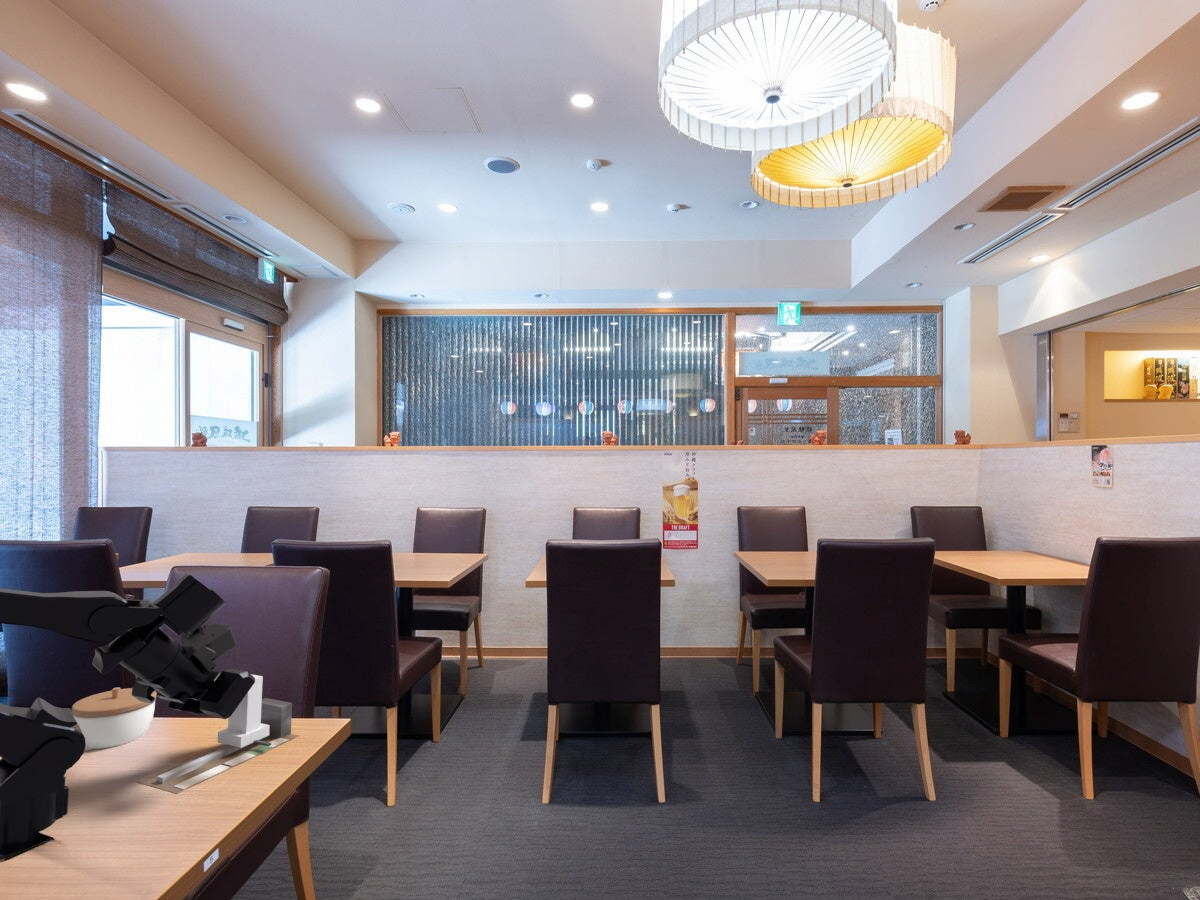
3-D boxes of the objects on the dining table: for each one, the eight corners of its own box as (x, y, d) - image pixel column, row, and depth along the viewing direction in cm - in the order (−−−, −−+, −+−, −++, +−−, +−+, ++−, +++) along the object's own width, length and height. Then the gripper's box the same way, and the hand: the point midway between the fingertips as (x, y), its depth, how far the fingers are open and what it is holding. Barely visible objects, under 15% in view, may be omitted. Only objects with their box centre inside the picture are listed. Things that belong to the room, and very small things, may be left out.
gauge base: (176, 805, 80) (178, 755, 80) (136, 793, 83) (139, 745, 83) (299, 745, 98) (301, 704, 99) (263, 737, 101) (265, 698, 102)
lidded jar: (141, 756, 94) (144, 695, 94) (55, 767, 90) (59, 703, 90) (162, 730, 104) (165, 675, 104) (86, 738, 100) (89, 681, 100)
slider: (255, 752, 90) (258, 686, 91) (217, 743, 93) (220, 679, 94) (283, 739, 95) (286, 676, 95) (246, 731, 98) (249, 670, 98)
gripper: (246, 616, 85) (305, 673, 95) (158, 605, 92) (221, 659, 101) (188, 689, 77) (259, 743, 87) (96, 671, 84) (171, 724, 93)
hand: (228, 713), depth 92 cm, fingers closed
